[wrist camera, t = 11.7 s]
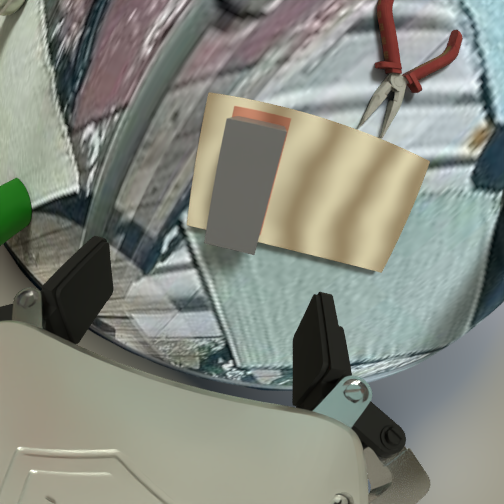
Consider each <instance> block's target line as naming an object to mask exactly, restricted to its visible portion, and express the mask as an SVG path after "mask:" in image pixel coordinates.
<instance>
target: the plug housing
mask: <svg viewBox="0 0 504 504" xmlns="http://www.w3.org/2000/svg"><path fill="white" fill-rule="evenodd" d="M286 133H287V131H286V128H285V126H281V125H277V124H273V123H269V122H264V121H260V120H255V119H251V118H246V117H241V116H235V117H231V118H227V120H226V124H225V129H224V134H223V139H222V144H221V149H220V154H219V159H218V164H217V170H216V175H215V180H214V186H213V192H212V198H211V203H210V209H209V215H208V222H207V228H206V234H205V241H204V243H206V244H210V245H215V246H219V247H223V248H227V249H231V250H236V251H240V252H244V253H248V254H252V255H254V254H255V250H256V247H257V243H258V239H259V235H260V232H261V228H262V224H263V220H264V216H265V213H266V209H267V205H268V201H269V198H270V194H271V190H272V186H273V182H274V179H275V175H276V171H277V167H278V163H279V160H280V156H281V152H282V148H283V144H284V141H285V137H286Z"/></svg>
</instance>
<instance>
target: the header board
mask: <svg viewBox="0 0 504 504" xmlns="http://www.w3.org/2000/svg"><path fill="white" fill-rule="evenodd" d="M235 116H241V117H246V118H251V119H255V120H260V121H264V122H269V123H273V124H277V125H281V126H285V128H286V131H287V133H286V137H285V141H284V144H283V148H282V152H281V156H280V160H279V163H278V167H277V171H276V175H275V179H274V182H273V186H272V190H271V194H270V198H269V201H268V205H267V209H266V213H265V216H264V220H263V224H262V228H261V232H260V235H259V239H258V242H260V243H264V244H269V245H273V246H277V247H281V248H285V249H289V250H293V251H297V252H301V253H306V254H310V255H314V256H318V257H322V258H326V259H330V260H334V261H338V262H342V263H346V264H350V265H354V266H358V267H362V268H366V269H370V270H374V271H377V272H381V273H382V271H383V269H384V267H385V265H386V263H387V261H388V259H389V257H390V255H391V253H392V251H393V249H394V247H395V245H396V243H397V241H398V239H399V236H400V234H401V232H402V230H403V228H404V225H405V223H406V221H407V219H408V216H409V214H410V212H411V209H412V207H413V205H414V202H415V200H416V197H417V195H418V192H419V190H420V187H421V185H422V182H423V179H424V177H425V174H426V171H427V168H428V165H429V163H430V161H428V160H426V159H424V158H422V157H420V156H418V155H416V154H414V153H411V152H409V151H407V150H405V149H403V148H401V147H398V146H396V145H394V144H391V143H389V142H387V141H384V140H382V139H380V138H377V137H375V136H372V135H370V134H367V133H364V132H362V131H359V130H356V129H354V128H351V127H348V126H345V125H342V124H339V123H336V122H333V121H330V120H327V119H324V118H321V117H318V116H314V115H311V114H307V113H304V112H300V111H297V110H293V109H289V108H285V107H281V106H277V105H273V104H269V103H264V102H260V101H255V100H250V99H245V98H239V97H234V96H228V95H222V94H216V93H208V98H207V103H206V108H205V113H204V118H203V123H202V128H201V134H200V139H199V145H198V151H197V157H196V163H195V169H194V176H193V182H192V189H191V197H190V204H189V212H188V220H187V225H188V226H192V227H197V228H201V229H205V230H206V228H207V222H208V215H209V209H210V203H211V198H212V192H213V186H214V180H215V175H216V170H217V164H218V159H219V154H220V149H221V144H222V139H223V134H224V129H225V124H226V120H227V118H231V117H235Z"/></svg>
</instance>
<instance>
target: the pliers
mask: <svg viewBox="0 0 504 504" xmlns="http://www.w3.org/2000/svg"><path fill="white" fill-rule="evenodd" d="M393 2H394V0H379V1H378V4H377V17H378V23H379V28H380V34H381V40H382V46H383V53H384V61H380V62H376V63H375V68H378V69H385V73H386V74H390V75H388V76H387V77H386V78H385V80H384V81H383V82H382V83H381V85H380V86H379V87H378V89H377V90H376V91H375V93H374V94H373V97H372V99H371V101H370V103H369V106H368V108H367V110H366V112H365V114H364V116H363V119H362V121H361V123H360V126H361V125H362V124H363V123H364V122H365V121H366V120H367V119H368V117H369V116H370V115H371V114H372V113H373V112H374V111H375V110H376V109H377V107H378V106H379V105H380V104H381V103H382V102H383V101H384V99H385V98H386V97H387V94H388V93H389V92H390V91H393V92H394V94H395V96H394V100H389V102H388V106H387V110H386V114H385V119H384V123H383V128H382V132H381V136H380V138H383V136H384V134H385V133H386V131H387V129H388V128H389V126H390V124H391V122H392V121H393V119H394V117H395V116H396V114H397V112H398V110H399V108H400V106H401V103H402V100H403V97H404V93H405V89H406V86H408V87H409V88H410V90H411V92H412V93H418V92H420V91H422V87H421V85H420V83H419V81H418V80H420V79H422V78H424V77H426V76H428V75H430V74H431V73H433V72H435V71H437V70H439V69H441V68H443V67H445V66H447V65H449V64H450V63H451V62H453V61H454V60H455V59H456V57H457V56H458V53H459V49H460V46H461V42H462V34H461V33H460V32H459V31H458V30H453V31H452V32H451V35H450V38H449V41H448V44H447V47H446V49H445V51H444V52H443V53H442V54H441V55H439V56H438V57H436V58H434V59H432V60H430V61H428V62H426V63H424V64H422V65H420V66H418V67H416V68H414V69H412V70H410V71H408V72H406V73H404V74H403V75H401V74H402V71H401V69H402V67H401V63H400V55H399V48H398V41H397V35H396V30H395V25H394V20H393V13H392V6H393Z"/></svg>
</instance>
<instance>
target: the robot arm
mask: <svg viewBox="0 0 504 504" xmlns="http://www.w3.org/2000/svg"><path fill="white" fill-rule="evenodd" d="M42 288H43V289H42V291H41V292H40V291H39V290H38V289H36V288H25V289H23V290H21V291H20V292H18V294H16V296H15V298H14V302H13V304H10V305H6V306H2V307H0V504H416V503H417V502H418V501H419V500H420V499H421V498H423V497H424V496H425V495H426V493H427V492H428V491H429V488H430V479H429V477H428V475H427V473H426V472H425V471H424V469H423V467H422V466H421V464H420V463H419V462H418V460H417V458H416V457H415V455H414V454H413V452H412V451H411V449H406V447H405V442H406V437H405V433H404V431H403V430H402V428H401V427H400V426H399V425H397V424H396V423H395V422H394V421H393V420H392V419H390V418H389V417H388V416H387V415H386V414H385V413H383V412H382V411H381V410H380V409H379V408H378V407H376V406H375V405H374V404H373V403H372V402H371V398H372V391H371V388H370V386H369V384H368V383H367V382H366V381H365V380H363V379H362V378H360V377H357V376H352V373H351V367H350V361H349V355H348V350H347V344H346V339H345V334H344V330H343V328H342V327H341V326H339V325H338V320H337V315H336V310H335V305H334V300H333V296H332V295H331V294H327V293H322V292H319V293H318V295H316V294H314V295H313V297H312V299H311V301H310V303H309V306H308V308H307V310H306V312H305V314H304V316H303V318H302V320H301V322H300V325H299V327H298V329H297V331H296V333H295V335H294V338H293V405H294V406H296V408H294V407H289V406H283V405H277V404H271V403H265V402H260V401H255V400H250V399H245V398H239V397H234V396H230V395H225V394H221V393H217V392H212V391H208V390H204V389H200V388H197V387H193V386H189V385H186V384H182V383H179V382H175V381H172V380H168V379H165V378H162V377H159V376H156V375H152V374H149V373H147V372H144V371H141V370H138V369H135V368H131V367H130V366H127V365H124V364H122V363H119V362H116V361H114V360H111V359H109V358H106V357H104V356H101V355H99V354H96V353H94V352H92V351H89V350H87V349H85V348H83V347H80V346H78V345H76V344H78V343H79V342H80V340H81V338H82V337H83V336H84V334H85V333H86V331H87V330H88V328H89V327H90V325H91V324H92V322H93V321H94V319H95V318H96V316H97V315H98V313H99V312H100V311H101V309H102V308H103V306H104V305H105V303H106V302H107V301H108V299H109V298H110V296H111V295H112V293H113V281H112V271H111V261H110V249H109V243H107V241H106V239H105V238H101V237H98V236H94V237H92V238H91V239H90V240H89V241H88V242H87V243H86V244H85V245H83V246H82V247H81V248H80V249H79V250H78V251H77V252H76V253H75V254H74V255H73V256H72V257H71V258H70V259H69V260H68V261H67V262H66V263H64V264H63V265H62V266H61V267H60V268H59V269H58V270H57V271H56V272H55V273H54V275H53V276H52V277H51V278H50V279H49V280H48V281H47V282H46V283H45V284H44V285H43V286H42ZM367 473H368V475H367ZM367 479H369V481H370V484H371V491H370V493H369V495H368V480H367Z"/></svg>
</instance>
